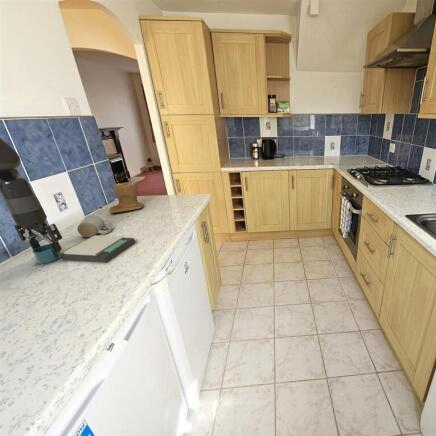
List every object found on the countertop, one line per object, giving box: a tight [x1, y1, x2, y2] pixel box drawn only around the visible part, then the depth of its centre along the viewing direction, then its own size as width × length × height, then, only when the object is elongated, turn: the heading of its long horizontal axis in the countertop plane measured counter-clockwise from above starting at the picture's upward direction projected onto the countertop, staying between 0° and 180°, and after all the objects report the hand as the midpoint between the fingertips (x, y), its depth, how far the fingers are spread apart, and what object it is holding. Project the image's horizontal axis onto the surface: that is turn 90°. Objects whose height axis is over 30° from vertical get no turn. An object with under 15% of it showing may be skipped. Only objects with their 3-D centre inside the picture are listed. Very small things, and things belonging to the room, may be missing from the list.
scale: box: [60, 235, 136, 263], centre depth 92 cm, size 18×14×3 cm
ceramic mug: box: [77, 214, 112, 238], centre depth 106 cm, size 11×8×8 cm
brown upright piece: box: [108, 182, 144, 214], centre depth 131 cm, size 15×12×15 cm
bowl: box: [32, 243, 62, 265], centre depth 87 cm, size 6×6×5 cm
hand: (48, 250), depth 87 cm, fingers open, 8 cm apart
